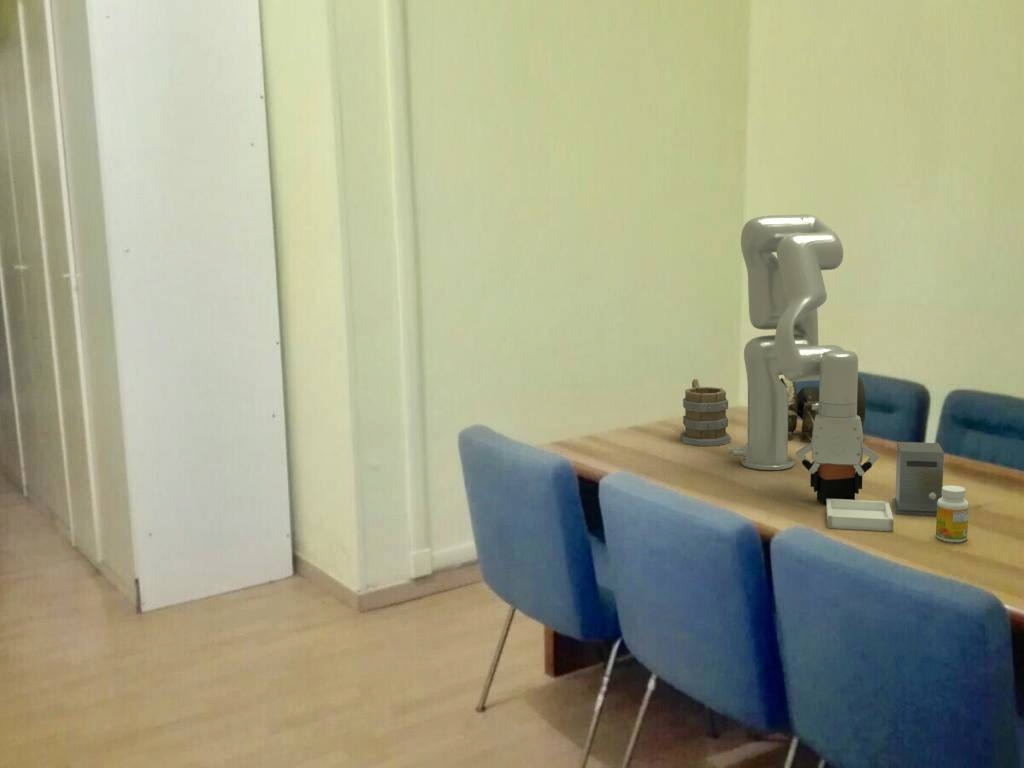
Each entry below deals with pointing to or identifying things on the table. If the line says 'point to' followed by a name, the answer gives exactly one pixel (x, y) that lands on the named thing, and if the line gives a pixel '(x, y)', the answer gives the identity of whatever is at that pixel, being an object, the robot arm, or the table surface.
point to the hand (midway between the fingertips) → (835, 490)
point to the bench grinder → (803, 406)
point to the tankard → (705, 416)
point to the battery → (835, 482)
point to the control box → (918, 478)
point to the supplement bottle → (952, 515)
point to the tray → (859, 515)
